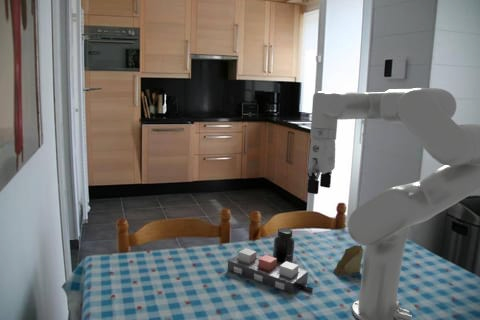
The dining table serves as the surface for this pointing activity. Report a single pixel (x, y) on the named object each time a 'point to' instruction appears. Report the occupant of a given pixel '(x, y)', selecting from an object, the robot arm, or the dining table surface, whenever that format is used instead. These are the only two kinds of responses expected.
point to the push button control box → (269, 275)
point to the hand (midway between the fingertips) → (319, 190)
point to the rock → (350, 261)
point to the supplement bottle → (284, 246)
